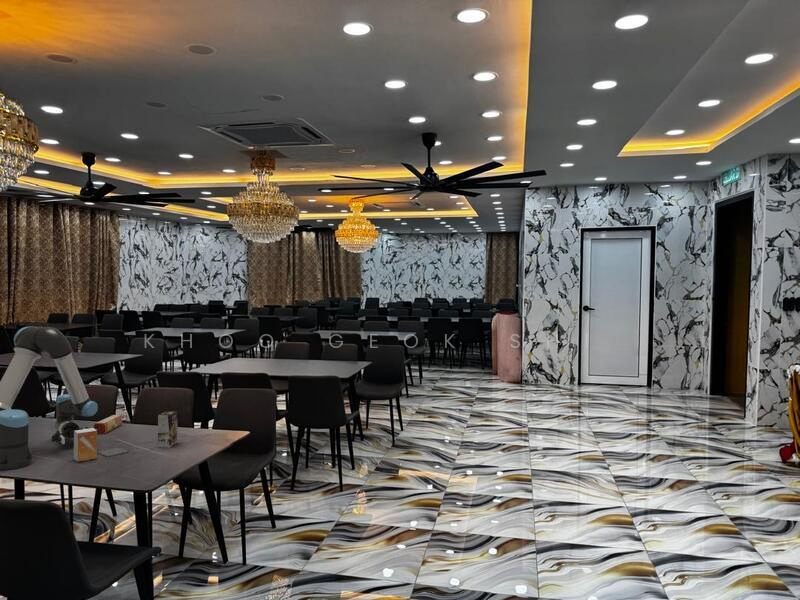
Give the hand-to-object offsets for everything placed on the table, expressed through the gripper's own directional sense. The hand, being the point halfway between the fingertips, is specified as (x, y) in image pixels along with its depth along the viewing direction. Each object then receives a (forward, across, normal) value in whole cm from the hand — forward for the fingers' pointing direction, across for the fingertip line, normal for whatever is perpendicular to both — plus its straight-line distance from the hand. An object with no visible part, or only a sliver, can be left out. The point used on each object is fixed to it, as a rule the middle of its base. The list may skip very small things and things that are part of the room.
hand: (80, 438), depth 264 cm
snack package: (-40, -23, -8) cm, 47 cm away
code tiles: (+10, 0, -7) cm, 12 cm away
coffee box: (+10, -36, -8) cm, 39 cm away
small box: (+10, 0, -7) cm, 12 cm away
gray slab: (+8, -12, -7) cm, 16 cm away
